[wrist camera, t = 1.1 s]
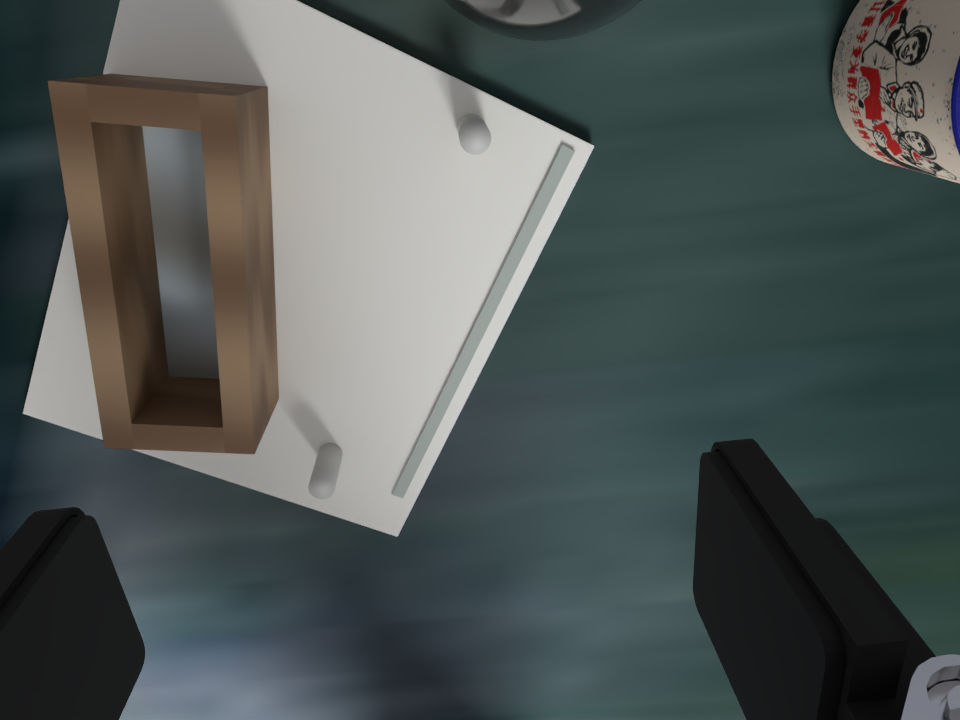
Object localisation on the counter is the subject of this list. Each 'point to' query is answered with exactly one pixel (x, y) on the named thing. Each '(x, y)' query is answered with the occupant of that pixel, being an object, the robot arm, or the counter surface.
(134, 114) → the frame
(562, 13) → the dark grey egg-shaped piece
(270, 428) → the wall board
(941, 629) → the counter surface
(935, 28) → the teacup with lid
